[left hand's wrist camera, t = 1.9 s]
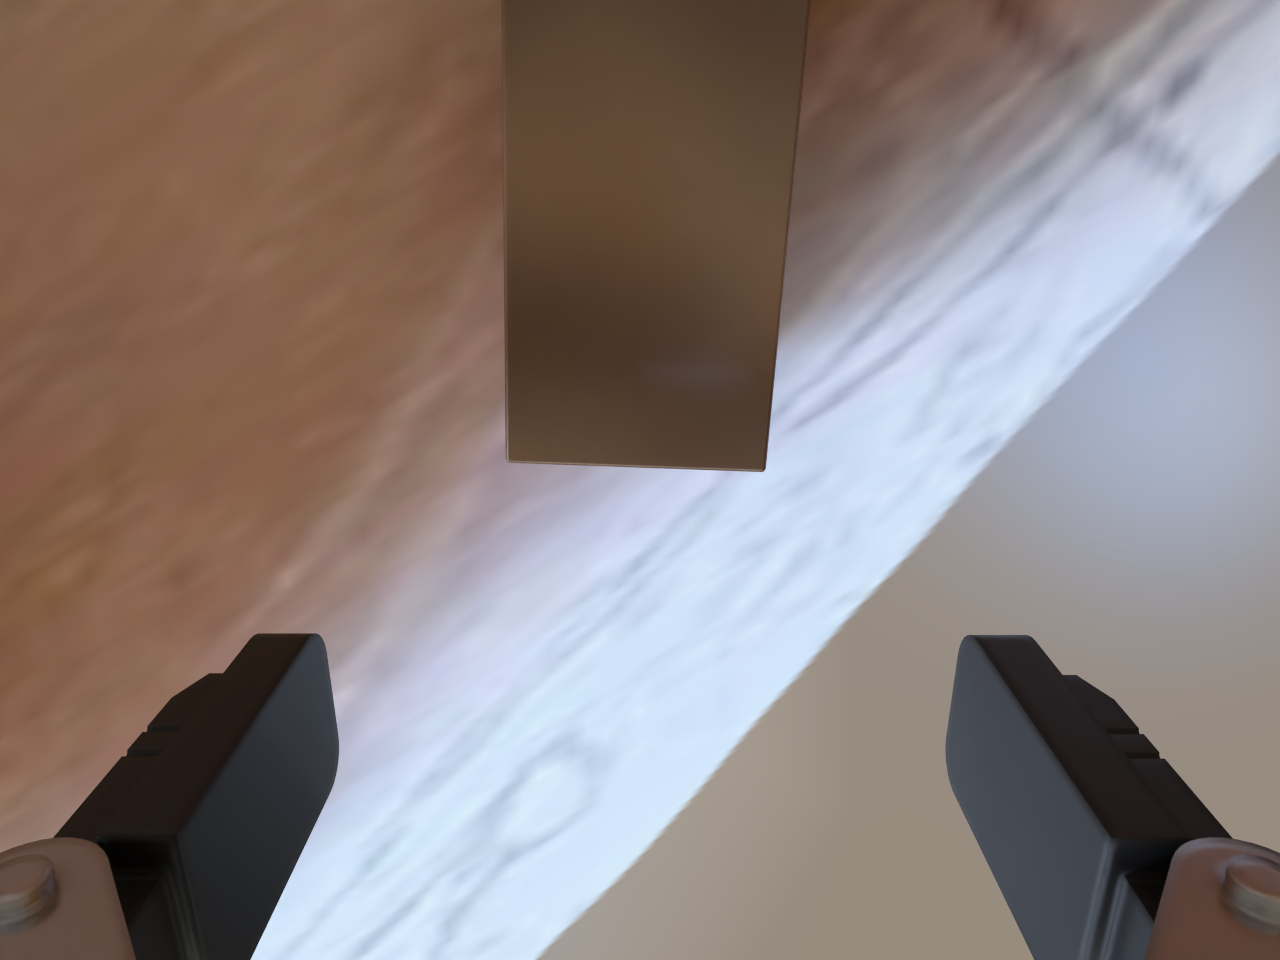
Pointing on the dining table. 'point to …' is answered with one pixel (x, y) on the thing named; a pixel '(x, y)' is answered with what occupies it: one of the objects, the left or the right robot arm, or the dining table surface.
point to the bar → (646, 226)
